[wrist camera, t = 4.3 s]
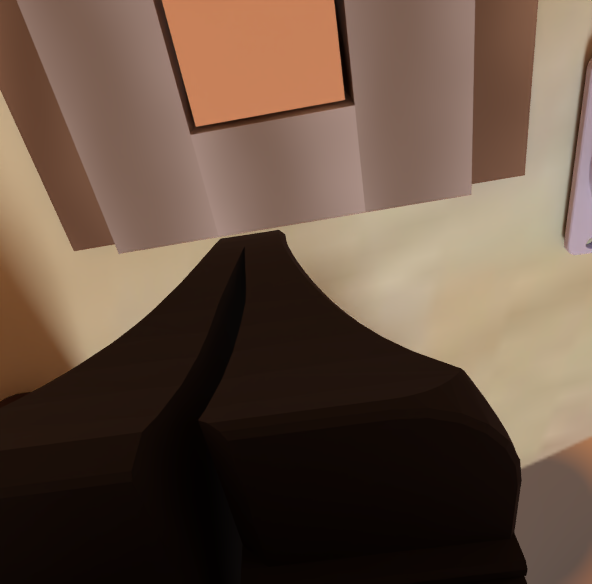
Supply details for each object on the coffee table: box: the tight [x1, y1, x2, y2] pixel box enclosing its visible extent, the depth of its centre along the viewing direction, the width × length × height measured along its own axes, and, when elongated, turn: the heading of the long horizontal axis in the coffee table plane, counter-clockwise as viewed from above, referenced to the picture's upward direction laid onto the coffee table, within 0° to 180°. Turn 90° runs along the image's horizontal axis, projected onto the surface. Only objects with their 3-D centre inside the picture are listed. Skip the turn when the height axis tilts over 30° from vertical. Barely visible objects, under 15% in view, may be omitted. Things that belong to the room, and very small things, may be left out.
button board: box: [0, 0, 538, 254], centre depth 16 cm, size 18×14×4 cm
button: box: [162, 0, 345, 127], centre depth 15 cm, size 4×4×3 cm
